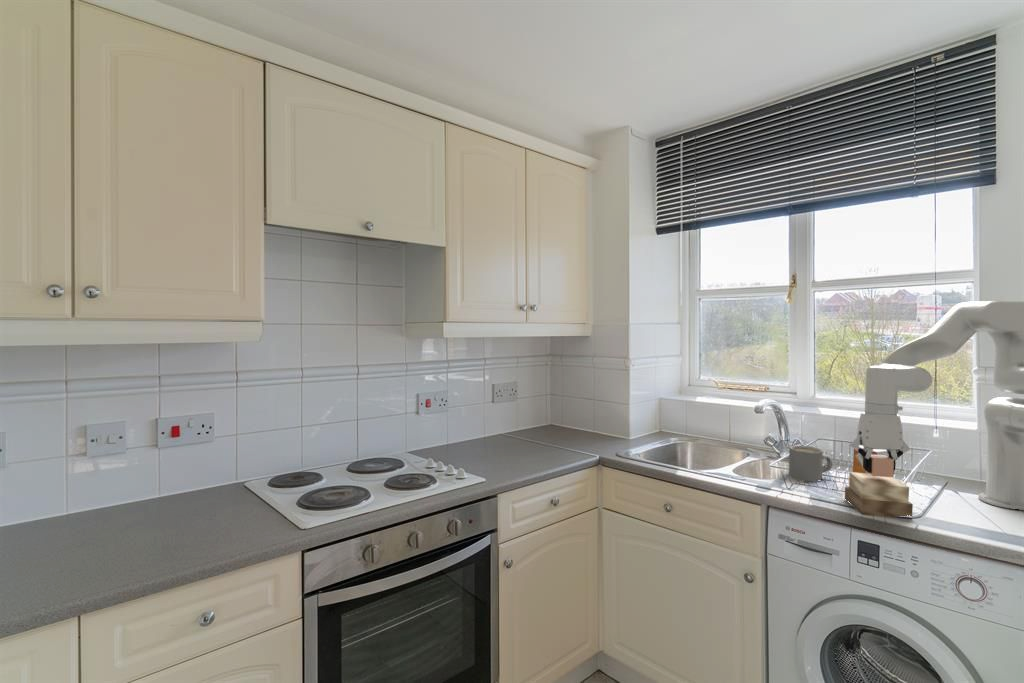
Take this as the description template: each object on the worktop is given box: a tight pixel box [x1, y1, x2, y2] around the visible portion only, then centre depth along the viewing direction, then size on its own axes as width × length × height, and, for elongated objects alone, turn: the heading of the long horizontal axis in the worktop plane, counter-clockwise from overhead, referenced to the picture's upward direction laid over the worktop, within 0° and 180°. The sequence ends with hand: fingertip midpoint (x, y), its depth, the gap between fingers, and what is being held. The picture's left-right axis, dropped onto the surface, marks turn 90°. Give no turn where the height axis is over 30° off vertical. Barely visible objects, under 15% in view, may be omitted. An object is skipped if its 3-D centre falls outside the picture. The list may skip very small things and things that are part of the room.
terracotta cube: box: [866, 454, 895, 477], centre depth 145 cm, size 5×5×5 cm
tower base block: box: [844, 486, 914, 518], centre depth 146 cm, size 12×12×4 cm
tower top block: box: [848, 471, 910, 503], centre depth 146 cm, size 11×11×4 cm
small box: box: [852, 445, 888, 474], centre depth 164 cm, size 8×6×13 cm
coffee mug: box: [788, 444, 833, 482], centre depth 174 cm, size 13×10×10 cm
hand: (878, 471), depth 145 cm, fingers closed on terracotta cube, 4 cm apart
